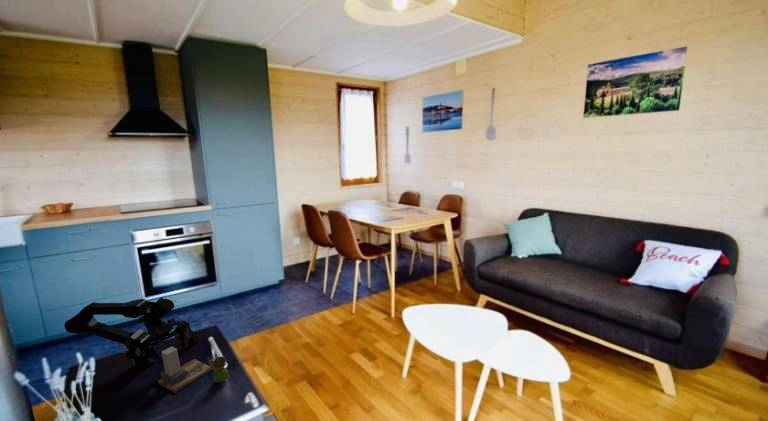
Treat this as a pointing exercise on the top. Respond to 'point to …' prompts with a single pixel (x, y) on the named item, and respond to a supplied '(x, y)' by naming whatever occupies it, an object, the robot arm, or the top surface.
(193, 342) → the door stopper
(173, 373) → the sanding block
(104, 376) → the top surface
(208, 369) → the oak board
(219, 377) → the snail figurine
